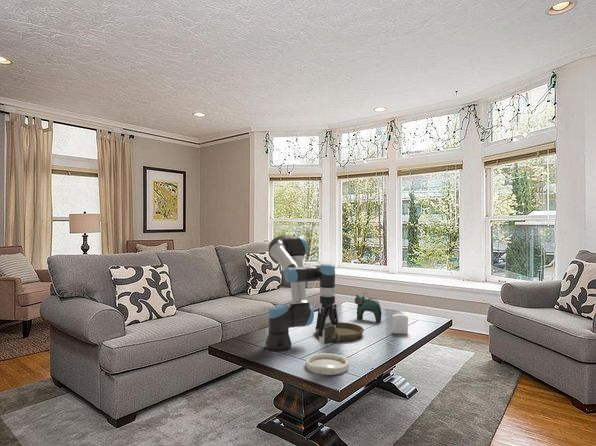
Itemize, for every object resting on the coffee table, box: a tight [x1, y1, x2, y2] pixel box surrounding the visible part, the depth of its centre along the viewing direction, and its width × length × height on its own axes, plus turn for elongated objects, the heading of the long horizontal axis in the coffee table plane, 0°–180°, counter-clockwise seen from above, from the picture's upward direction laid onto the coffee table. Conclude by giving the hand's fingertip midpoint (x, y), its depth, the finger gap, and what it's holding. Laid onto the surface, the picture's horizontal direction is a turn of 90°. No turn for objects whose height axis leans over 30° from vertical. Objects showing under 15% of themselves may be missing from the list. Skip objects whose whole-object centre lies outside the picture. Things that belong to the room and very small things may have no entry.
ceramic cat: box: [354, 292, 382, 323], centre depth 275 cm, size 20×6×20 cm, turn 55°
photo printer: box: [391, 313, 409, 335], centre depth 242 cm, size 10×4×12 cm, turn 84°
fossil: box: [316, 325, 340, 345], centre depth 186 cm, size 11×9×10 cm
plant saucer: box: [314, 321, 365, 342], centre depth 239 cm, size 31×31×5 cm
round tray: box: [305, 352, 350, 376], centre depth 186 cm, size 21×21×3 cm
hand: (327, 340), depth 186 cm, fingers closed on fossil, 10 cm apart
